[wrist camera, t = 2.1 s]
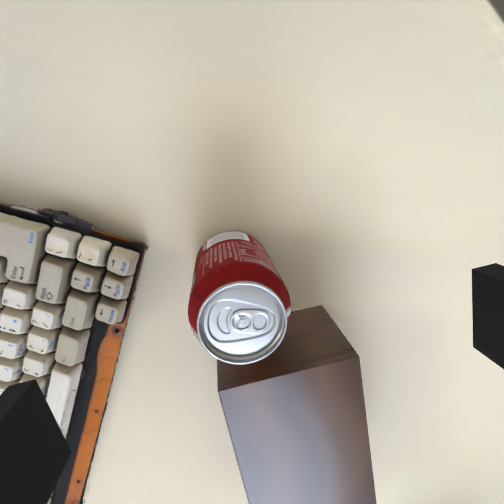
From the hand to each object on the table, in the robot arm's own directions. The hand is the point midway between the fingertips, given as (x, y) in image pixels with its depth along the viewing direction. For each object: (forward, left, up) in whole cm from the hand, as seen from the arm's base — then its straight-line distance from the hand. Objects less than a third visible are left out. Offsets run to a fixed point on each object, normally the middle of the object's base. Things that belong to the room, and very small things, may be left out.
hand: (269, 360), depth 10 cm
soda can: (-1, -4, -22) cm, 22 cm away
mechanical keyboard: (-25, -11, -22) cm, 35 cm away
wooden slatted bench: (+2, -21, -21) cm, 30 cm away
